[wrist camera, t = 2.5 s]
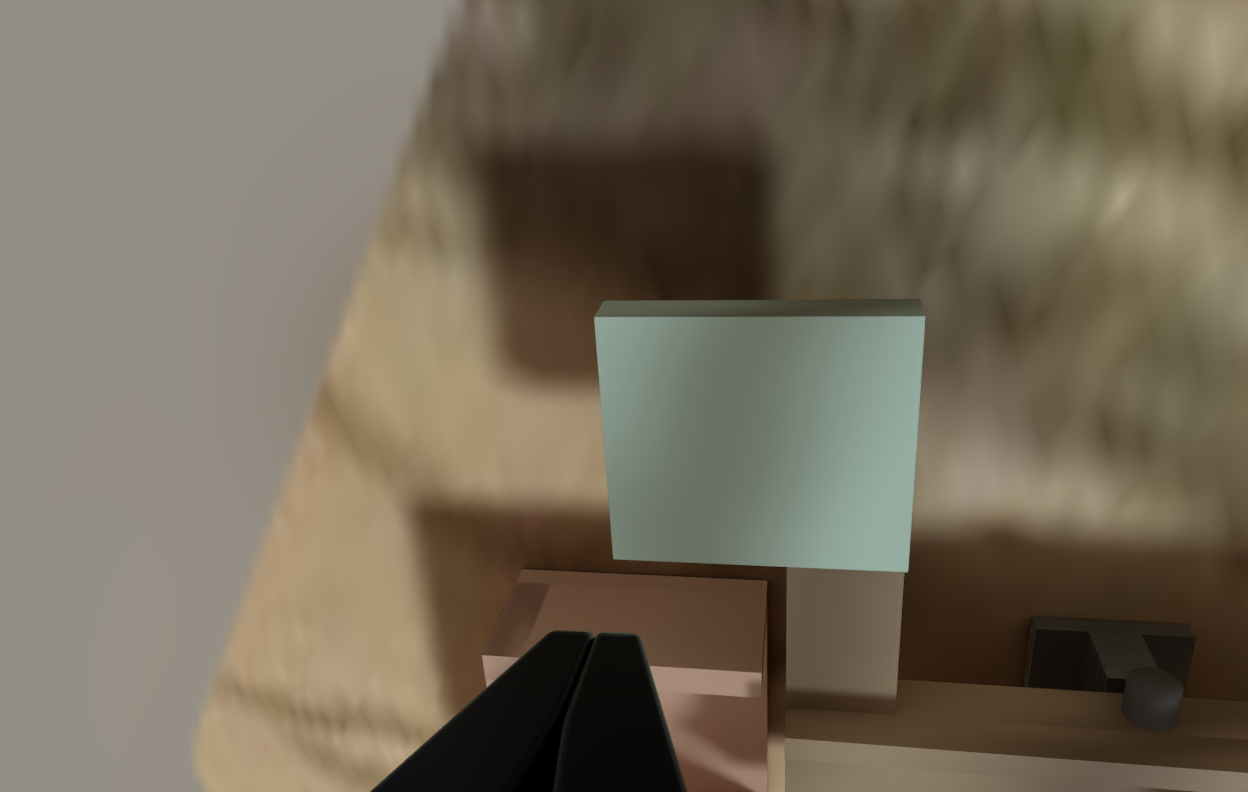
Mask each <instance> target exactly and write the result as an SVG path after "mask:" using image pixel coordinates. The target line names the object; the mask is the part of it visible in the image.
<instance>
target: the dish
mask: <svg viewBox="0 0 1248 792" xmlns="http://www.w3.org/2000/svg"><path fill="white" fill-rule="evenodd" d="M554 630H568V631H588V632H591V633H592V634H593V635H594V637H595V636H596V635H597V634H599V633H601V632H614V633H634V634H637V635H639V636H640V638H641V640H642V643H643V646H644V649H645V653H646V656H647V659H648V663H649V666H650V669H651V673H652V676H653V679H654V682H655V686H656V689H657V692H658V696H659V699H660V702H661V706H662V709H663V712H664V716H665V719H666V722H667V726H668V729H669V732H670V736H671V739H672V742H673V746H674V749H675V752H676V756H677V759H678V762H679V765H680V769H681V772H682V775H683V779H684V782H685V785H686V789H687V792H768V632H767V581H765V580H743V579H722V578H700V577H679V576H657V575H636V574H614V573H593V572H572V571H550V570H529V569H522V570H521V572H520V574H519V576H518V578H517V581H516V583H515V585H514V587H513V589H512V591H511V593H510V596H509V598H508V600H507V602H506V604H505V606H504V608H503V611H502V613H501V615H500V617H499V619H498V621H497V624H496V626H495V628H494V630H493V632H492V634H491V636H490V639H489V641H488V643H487V645H486V647H485V649H484V652H483V654H482V660H483V667H484V673H485V680H486V686H487V687H488V686H489V685H490V684H491V683H492V682H493V681H495V680H496V679H497V678H498V677H499V676H500V675H501V674H502V673H503V672H505V671H506V670H507V669H508V668H509V667H510V666H511V665H512V664H514V663H515V662H516V661H517V660H518V659H519V658H520V657H521V656H522V655H524V654H525V653H526V652H527V651H528V650H529V649H530V648H531V647H533V646H534V645H535V644H536V643H537V642H538V641H539V640H540V639H541V638H543V637H544V636H545V635H546V634H547V633H549V632H551V631H554Z"/></svg>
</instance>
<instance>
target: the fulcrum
mask: <svg viewBox="0 0 1248 792" xmlns="http://www.w3.org/2000/svg"><path fill="white" fill-rule="evenodd" d="M1195 640H1196V636H1195V635H1194V633H1193V631H1192V629H1191V628H1190V626H1189V625H1182V624H1162V623H1142V622H1122V621H1103V620H1083V619H1063V618H1044V617H1032V622H1031V629H1030V637H1029V644H1028V652H1027V659H1026V667H1025V675H1024V682H1023V687H1027V688H1042V689H1058V690H1074V691H1090V692H1106V693H1121V694H1124V688H1125V683H1126V677H1127V674H1128V672H1129V671H1130V670H1131V669H1133V668H1136V667H1142V666H1147V667H1154V668H1158V669H1162V670H1164V671H1166V672H1168V673H1170V674H1172V675H1173V676H1175V677H1176V678H1177V679H1178V680H1179V681H1180V682H1181V684H1182V686H1183V695H1184V690H1185V686H1186V681H1187V677H1188V672H1189V667H1190V663H1191V658H1192V653H1193V649H1194V644H1195ZM1183 695H1182V697H1183Z"/></svg>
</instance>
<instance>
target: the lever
mask: <svg viewBox="0 0 1248 792" xmlns="http://www.w3.org/2000/svg"><path fill="white" fill-rule="evenodd" d="M594 323H595V336H596V348H597V361H598V374H599V386H600V399H601V411H602V424H603V437H604V449H605V462H606V475H607V487H608V500H609V513H610V525H611V538H612V550H613V559H618V560H641V561H664V562H686V563H709V564H732V565H755V566H778V567H787V605H786V719H785V792H1248V701H1232V700H1216V699H1200V698H1184V697H1182V695H1183V686H1182V684H1181V682H1180V681H1179V680H1178V679H1177V678H1176V677H1175V676H1173V675H1172V674H1170V673H1168V672H1166V671H1164V670H1162V669H1158V668H1154V667H1147V666H1142V667H1136V668H1133V669H1131V670H1130V671H1129V672H1128V674H1127V677H1126V683H1125V688H1124V694H1121V693H1106V692H1090V691H1074V690H1058V689H1042V688H1027V687H1011V686H995V685H979V684H963V683H948V682H932V681H916V680H900V679H897V677H898V662H899V647H900V631H901V616H902V601H903V585H904V572H908V567H909V552H910V537H911V523H912V508H913V493H914V478H915V463H916V448H917V433H918V418H919V403H920V388H921V373H922V358H923V344H924V329H925V314H924V311H923V308H922V305H921V302H920V299H849V300H655V301H603V303H602V304H601V306H600V308H599V310H598V311H597V313H596V315H595V316H594Z"/></svg>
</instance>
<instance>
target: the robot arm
mask: <svg viewBox="0 0 1248 792" xmlns="http://www.w3.org/2000/svg"><path fill="white" fill-rule="evenodd" d="M370 792H687V789H686V785H685V782H684V779H683V775H682V772H681V769H680V765H679V762H678V759H677V756H676V752H675V749H674V746H673V742H672V739H671V736H670V732H669V729H668V726H667V722H666V719H665V716H664V712H663V709H662V706H661V702H660V699H659V696H658V692H657V689H656V686H655V682H654V679H653V676H652V673H651V669H650V666H649V663H648V659H647V656H646V653H645V649H644V646H643V643H642V640H641V638H640V636H639V635H637V634H634V633H614V632H601V633H599V634H597V635H596V636H595V637H594V635H593V634H592V633H591V632H588V631H568V630H554V631H551V632H549V633H547V634H546V635H545V636H544V637H543V638H541V639H540V640H539V641H538V642H537V643H536V644H535V645H534V646H533V647H531V648H530V649H529V650H528V651H527V652H526V653H525V654H524V655H522V656H521V657H520V658H519V659H518V660H517V661H516V662H515V663H514V664H512V665H511V666H510V667H509V668H508V669H507V670H506V671H505V672H503V673H502V674H501V675H500V676H499V677H498V678H497V679H496V680H495V681H493V682H492V683H491V684H490V685H489V686H488V687H487V688H486V689H484V690H483V691H482V692H481V693H480V694H479V695H478V696H477V697H476V698H474V699H473V700H472V701H471V702H470V703H469V704H468V705H467V706H465V707H464V708H463V709H462V710H461V711H460V712H459V713H458V714H457V715H455V716H454V717H453V718H452V719H451V720H450V721H449V722H448V723H446V724H445V725H444V726H443V727H442V728H441V729H440V730H439V731H437V732H436V733H435V734H434V735H433V736H432V737H431V738H430V739H429V740H427V741H426V742H425V743H424V744H423V745H422V746H421V747H420V748H418V749H417V750H416V751H415V752H414V753H413V754H412V755H411V756H410V757H408V758H407V759H406V760H405V761H404V762H403V763H402V764H401V765H399V766H398V767H397V768H396V769H395V770H394V771H393V772H392V773H391V774H389V775H388V776H387V777H386V778H385V779H384V780H383V781H382V782H380V783H379V784H378V785H377V786H376V787H375V788H374V789H373V790H372V791H370Z"/></svg>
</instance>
